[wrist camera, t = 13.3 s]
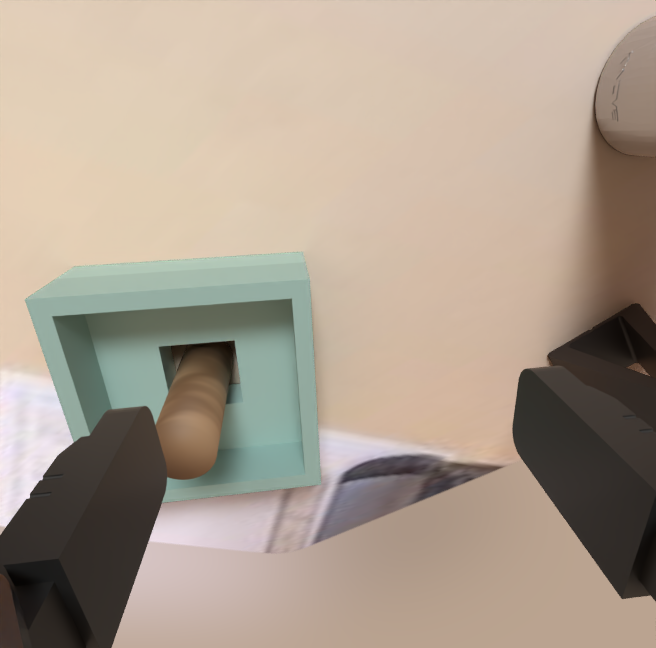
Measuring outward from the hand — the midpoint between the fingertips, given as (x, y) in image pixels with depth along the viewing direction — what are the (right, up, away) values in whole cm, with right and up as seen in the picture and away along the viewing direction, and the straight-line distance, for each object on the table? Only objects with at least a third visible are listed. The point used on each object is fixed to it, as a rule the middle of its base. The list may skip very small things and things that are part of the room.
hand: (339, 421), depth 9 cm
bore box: (-10, -1, +27) cm, 29 cm away
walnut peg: (-10, -1, +27) cm, 29 cm away
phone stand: (+25, 0, +32) cm, 41 cm away
